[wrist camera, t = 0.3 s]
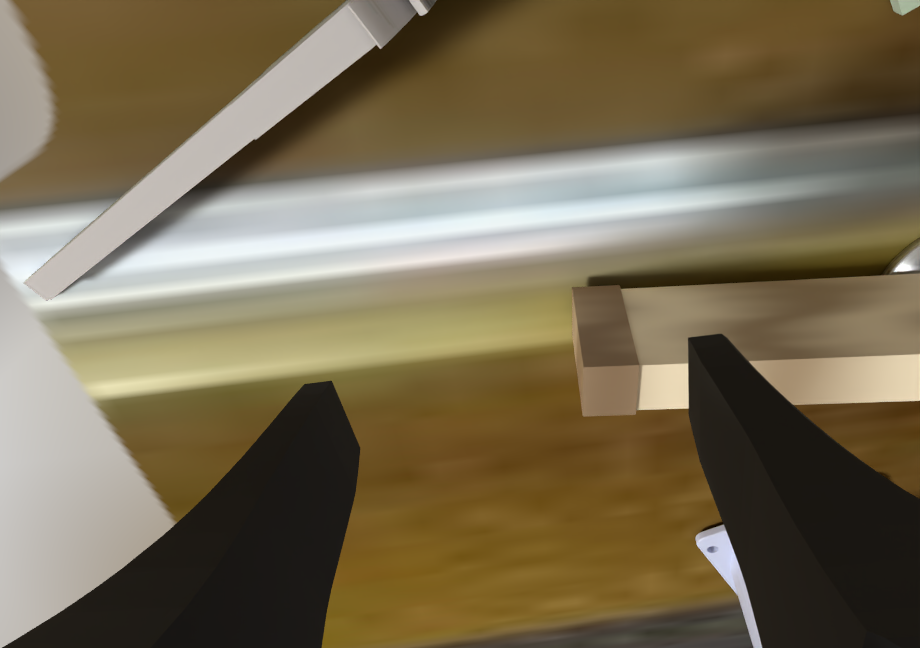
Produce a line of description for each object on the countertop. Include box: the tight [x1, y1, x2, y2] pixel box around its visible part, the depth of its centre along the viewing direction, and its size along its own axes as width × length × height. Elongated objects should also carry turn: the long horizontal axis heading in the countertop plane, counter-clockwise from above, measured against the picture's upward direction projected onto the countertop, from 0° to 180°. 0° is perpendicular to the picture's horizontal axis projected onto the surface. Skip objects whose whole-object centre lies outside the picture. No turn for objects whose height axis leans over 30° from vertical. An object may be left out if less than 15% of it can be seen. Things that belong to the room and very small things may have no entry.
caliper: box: [24, 0, 437, 301], centre depth 18 cm, size 20×1×6 cm, turn 127°
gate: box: [572, 274, 920, 416], centre depth 21 cm, size 11×2×4 cm, turn 96°
